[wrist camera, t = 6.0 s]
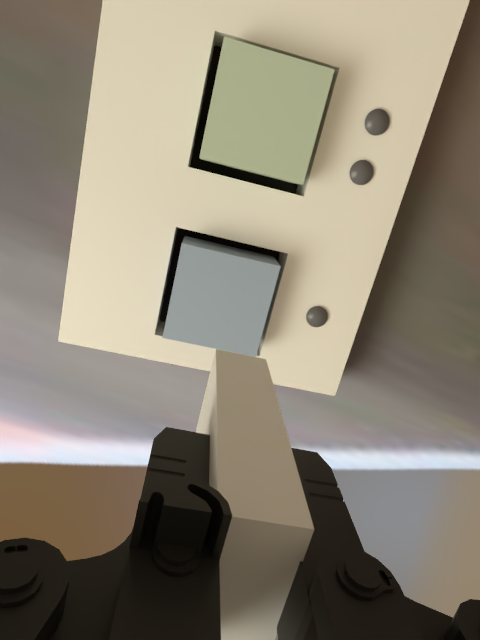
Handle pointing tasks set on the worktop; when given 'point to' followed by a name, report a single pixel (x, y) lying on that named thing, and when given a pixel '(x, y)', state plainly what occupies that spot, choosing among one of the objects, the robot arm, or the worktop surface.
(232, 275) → the button
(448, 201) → the worktop surface
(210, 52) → the panel
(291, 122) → the button
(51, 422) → the worktop surface
